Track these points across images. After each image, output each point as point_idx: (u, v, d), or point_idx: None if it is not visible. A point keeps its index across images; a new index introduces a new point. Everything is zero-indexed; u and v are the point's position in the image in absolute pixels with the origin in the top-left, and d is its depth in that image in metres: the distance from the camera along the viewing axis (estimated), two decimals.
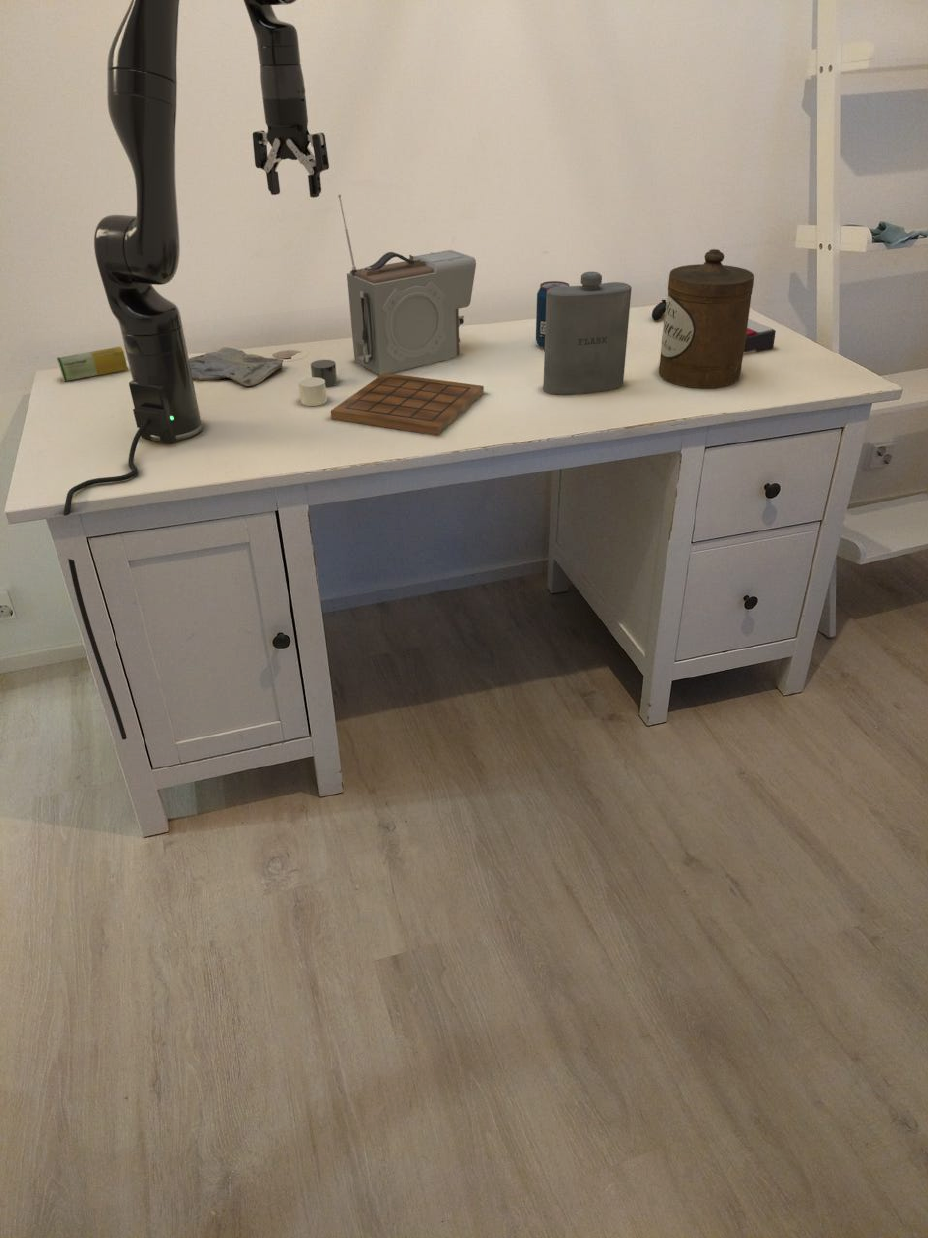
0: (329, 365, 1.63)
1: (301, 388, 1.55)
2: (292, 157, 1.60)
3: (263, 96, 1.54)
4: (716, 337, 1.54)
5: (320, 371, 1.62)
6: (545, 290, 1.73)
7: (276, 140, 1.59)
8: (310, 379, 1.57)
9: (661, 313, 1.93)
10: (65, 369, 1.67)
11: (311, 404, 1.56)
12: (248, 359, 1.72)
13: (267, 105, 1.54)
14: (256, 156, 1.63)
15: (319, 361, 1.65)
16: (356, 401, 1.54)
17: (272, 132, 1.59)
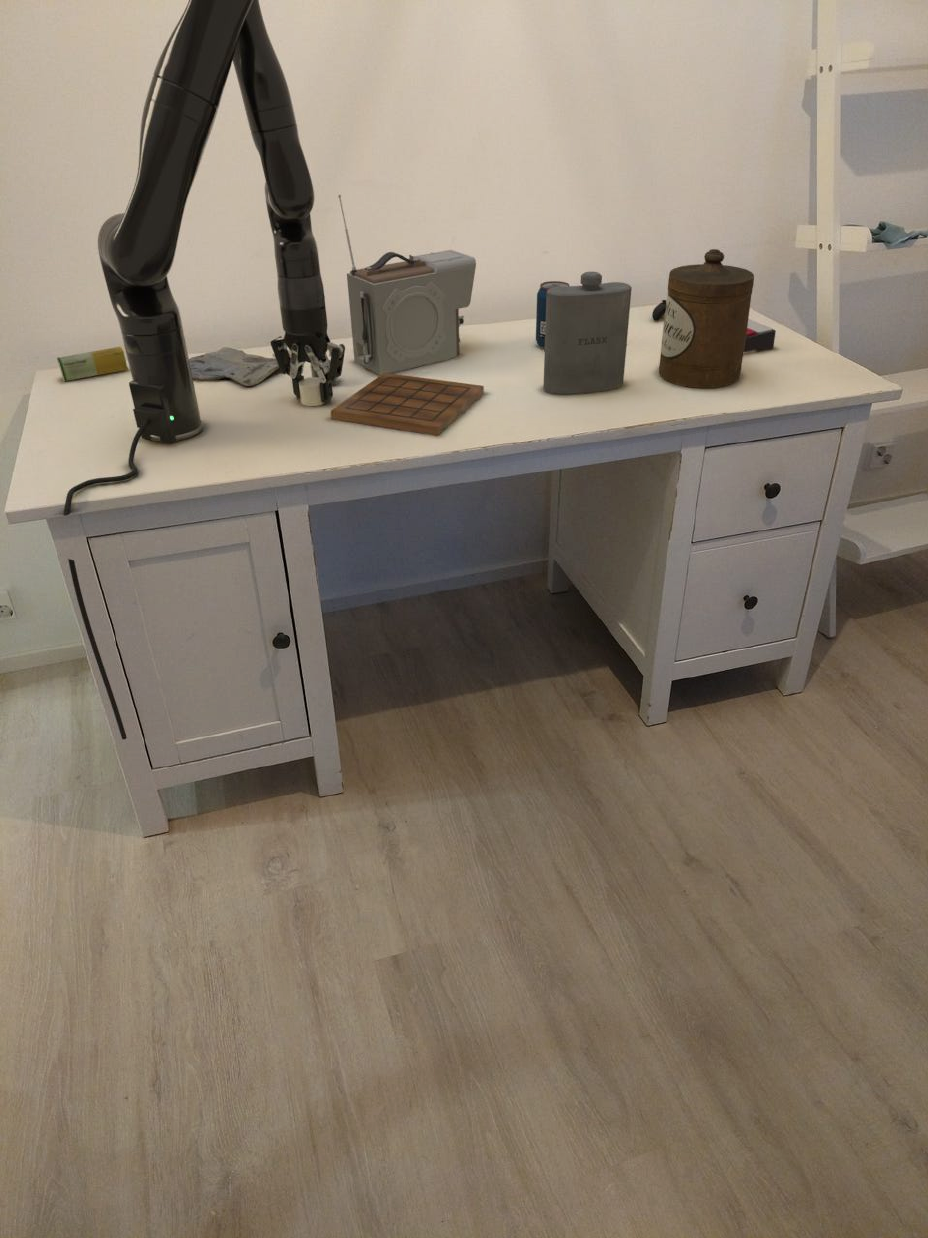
0: (329, 365, 1.63)
1: (301, 388, 1.55)
2: (311, 361, 1.52)
3: (281, 305, 1.47)
4: (716, 337, 1.54)
5: None
6: (545, 290, 1.73)
7: (294, 345, 1.51)
8: (310, 379, 1.57)
9: (661, 313, 1.93)
10: (65, 369, 1.67)
11: (311, 404, 1.56)
12: (248, 359, 1.72)
13: (285, 314, 1.47)
14: (279, 363, 1.55)
15: (319, 361, 1.65)
16: (356, 401, 1.54)
17: (290, 336, 1.51)
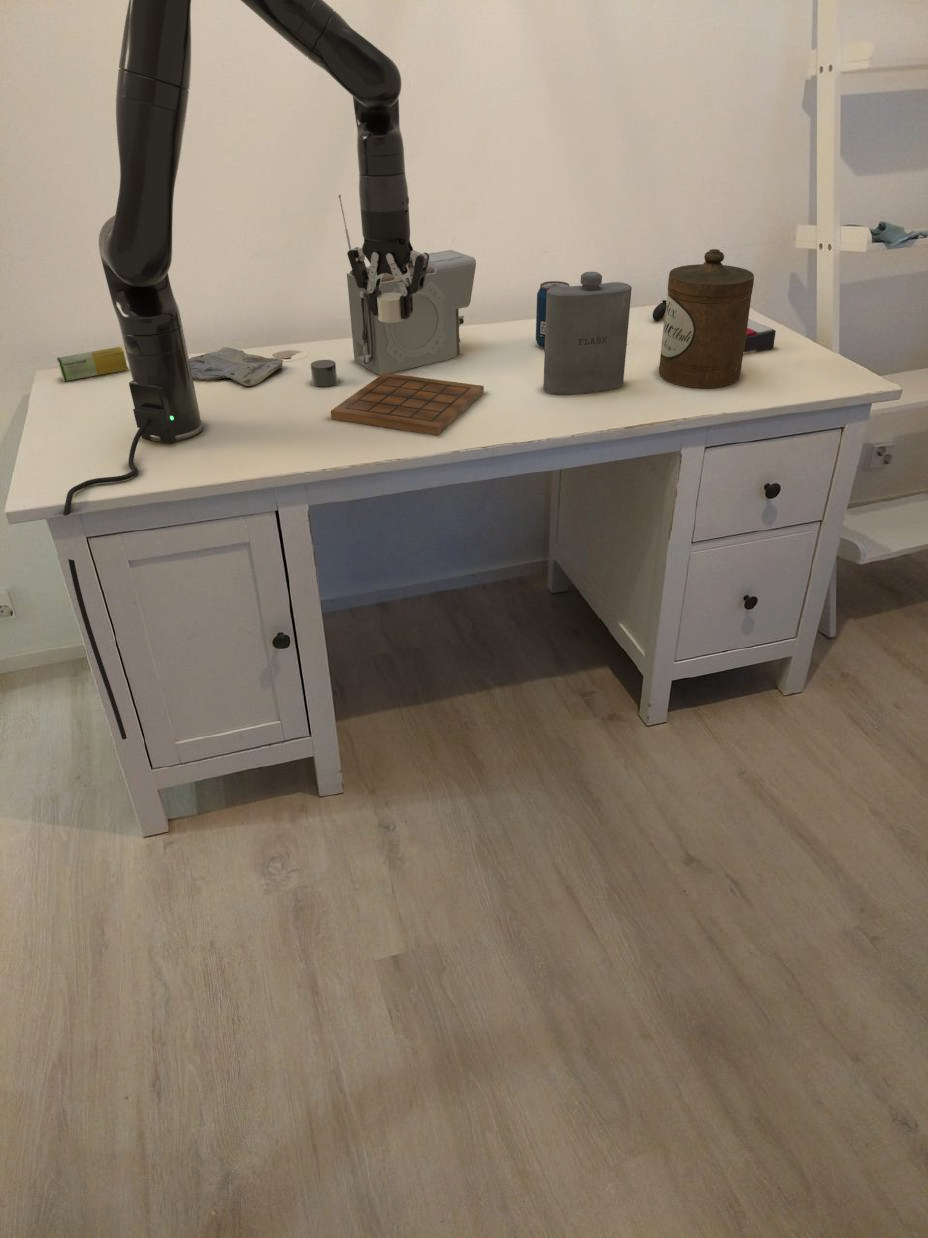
0: (329, 365, 1.63)
1: (380, 303, 1.44)
2: (391, 272, 1.42)
3: (362, 208, 1.36)
4: (716, 337, 1.54)
5: (320, 371, 1.62)
6: (545, 290, 1.73)
7: (374, 254, 1.40)
8: (388, 294, 1.46)
9: (662, 313, 1.92)
10: (65, 369, 1.67)
11: (390, 321, 1.45)
12: (248, 359, 1.72)
13: (367, 218, 1.36)
14: (356, 276, 1.44)
15: (319, 361, 1.65)
16: (356, 401, 1.54)
17: (369, 245, 1.41)
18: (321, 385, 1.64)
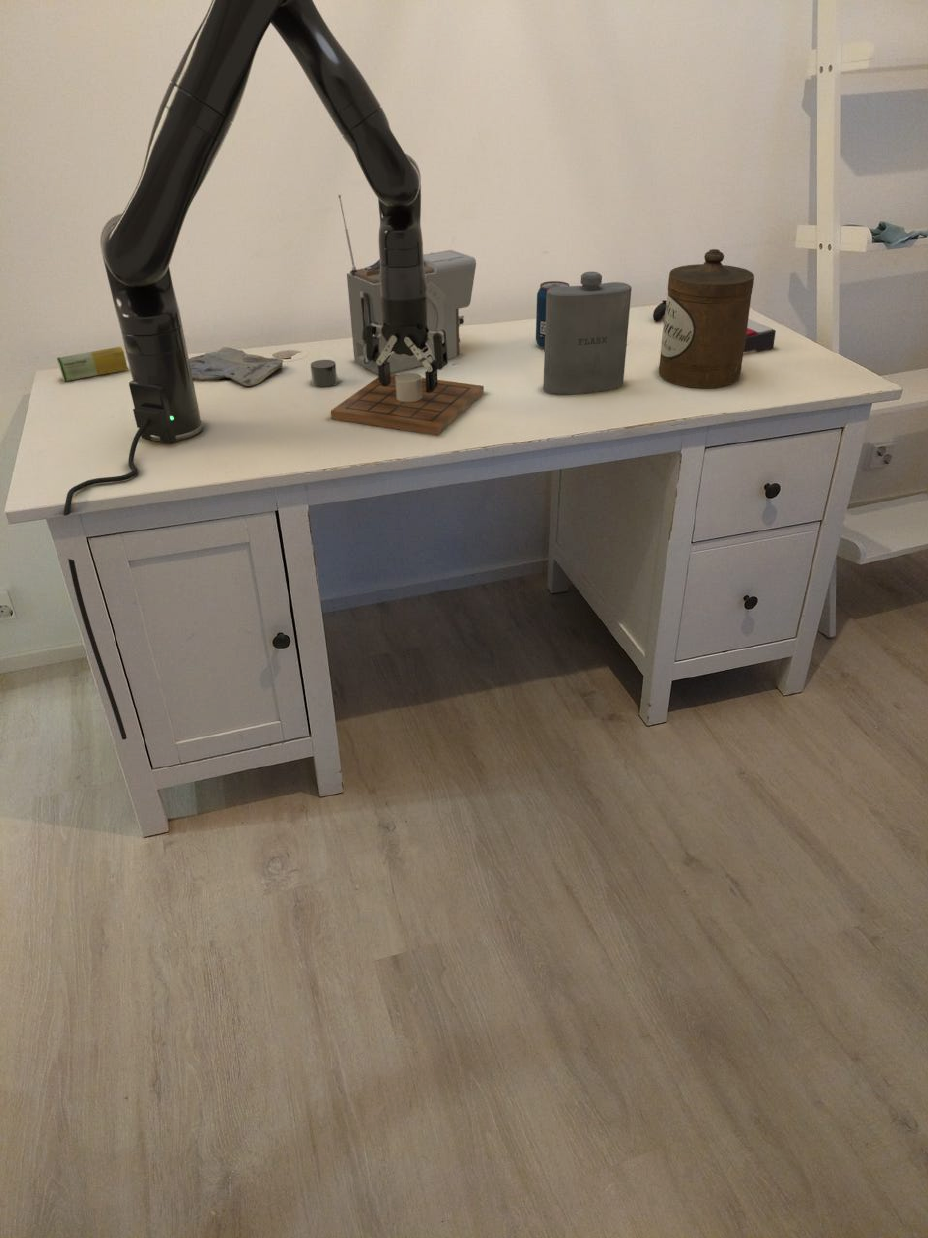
0: (329, 365, 1.63)
1: (398, 383, 1.52)
2: (409, 353, 1.49)
3: (382, 295, 1.43)
4: (716, 337, 1.54)
5: (320, 371, 1.62)
6: (545, 290, 1.73)
7: (393, 337, 1.47)
8: (406, 374, 1.54)
9: (662, 314, 1.92)
10: (65, 369, 1.67)
11: (407, 400, 1.53)
12: (248, 359, 1.72)
13: (386, 305, 1.43)
14: (368, 349, 1.51)
15: (319, 361, 1.65)
16: (356, 401, 1.54)
17: (388, 328, 1.48)
18: (321, 385, 1.64)
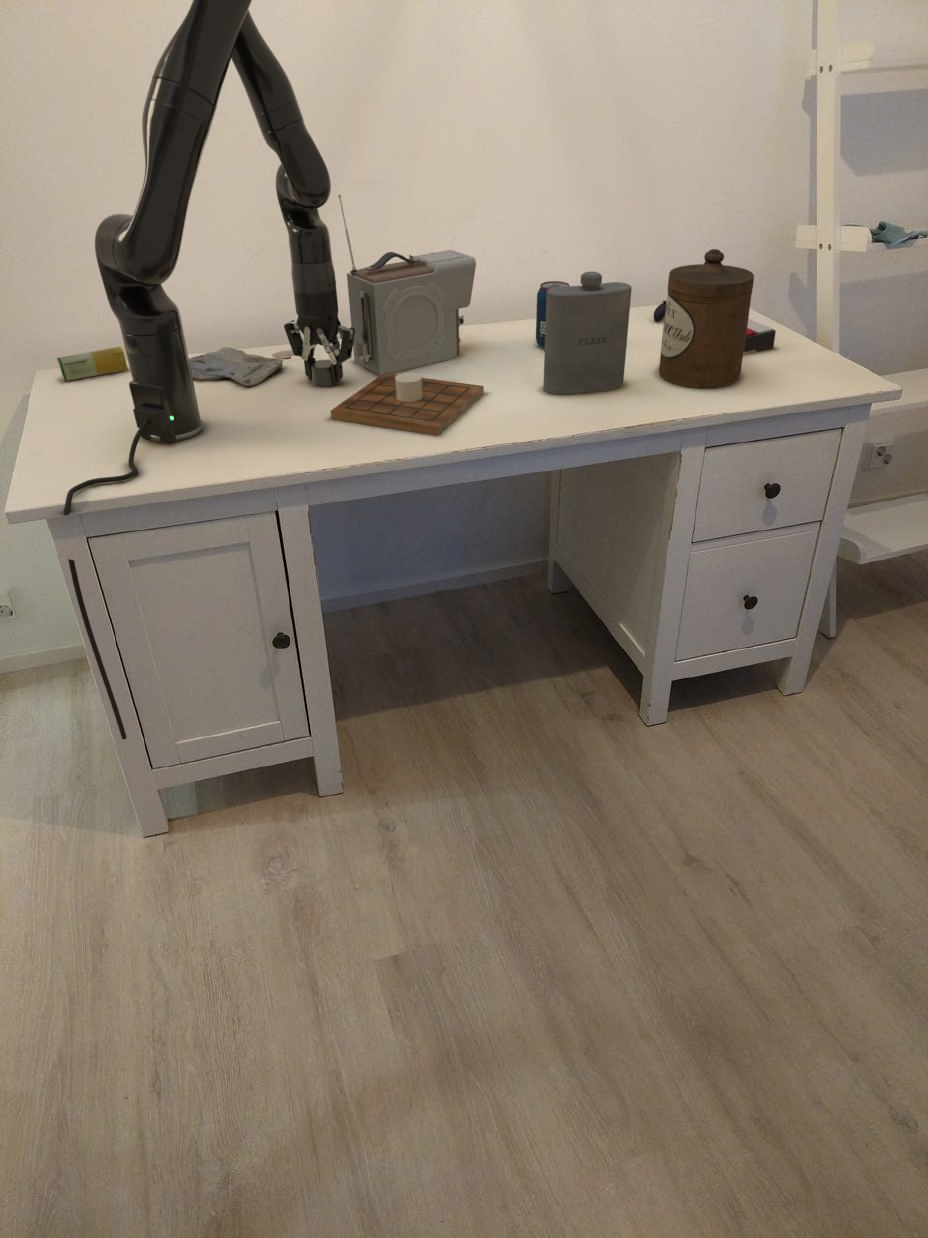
0: (329, 365, 1.63)
1: (398, 383, 1.52)
2: (322, 343, 1.60)
3: (294, 289, 1.54)
4: (716, 337, 1.54)
5: (320, 371, 1.62)
6: (545, 290, 1.73)
7: (306, 328, 1.59)
8: (406, 374, 1.54)
9: (663, 314, 1.92)
10: (65, 369, 1.67)
11: (407, 400, 1.53)
12: (248, 359, 1.72)
13: (298, 298, 1.54)
14: (292, 346, 1.63)
15: (319, 361, 1.65)
16: (356, 401, 1.54)
17: (302, 320, 1.59)
18: (320, 385, 1.64)
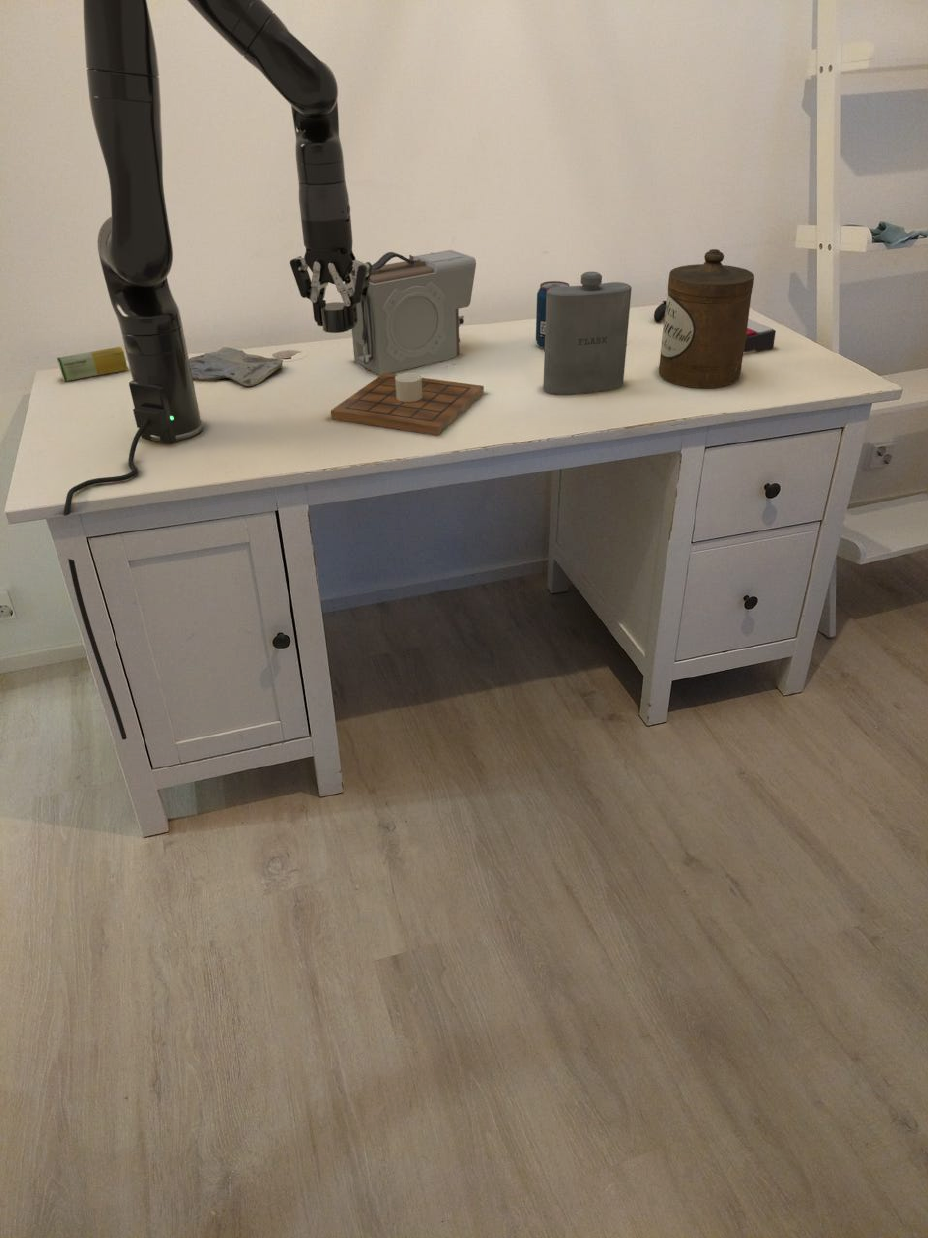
0: (341, 308, 1.42)
1: (398, 383, 1.52)
2: (334, 281, 1.39)
3: (302, 217, 1.34)
4: (716, 337, 1.54)
5: (332, 314, 1.42)
6: (545, 290, 1.73)
7: (316, 263, 1.38)
8: (406, 374, 1.54)
9: (663, 314, 1.92)
10: (65, 369, 1.67)
11: (407, 400, 1.53)
12: (248, 359, 1.72)
13: (307, 227, 1.34)
14: (299, 285, 1.42)
15: (330, 304, 1.44)
16: (356, 401, 1.54)
17: (311, 254, 1.38)
18: (332, 331, 1.43)
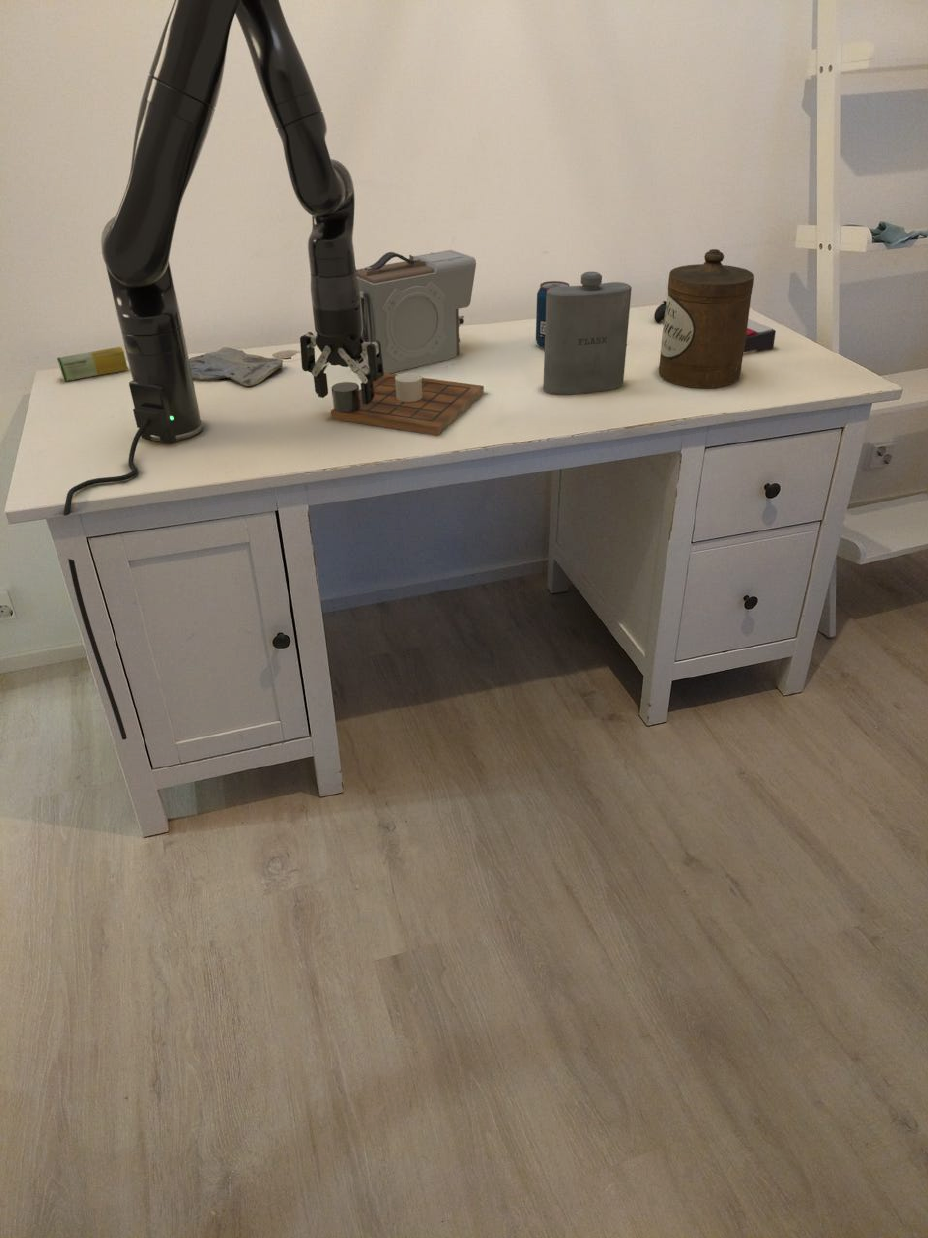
0: (351, 389, 1.48)
1: (398, 383, 1.52)
2: (343, 364, 1.45)
3: (314, 305, 1.40)
4: (716, 337, 1.54)
5: (342, 395, 1.48)
6: (545, 290, 1.73)
7: (326, 347, 1.44)
8: (406, 374, 1.54)
9: (664, 315, 1.92)
10: (65, 369, 1.67)
11: (407, 400, 1.53)
12: (248, 359, 1.72)
13: (318, 315, 1.40)
14: (303, 359, 1.48)
15: (340, 384, 1.50)
16: None
17: (322, 338, 1.44)
18: (342, 410, 1.49)
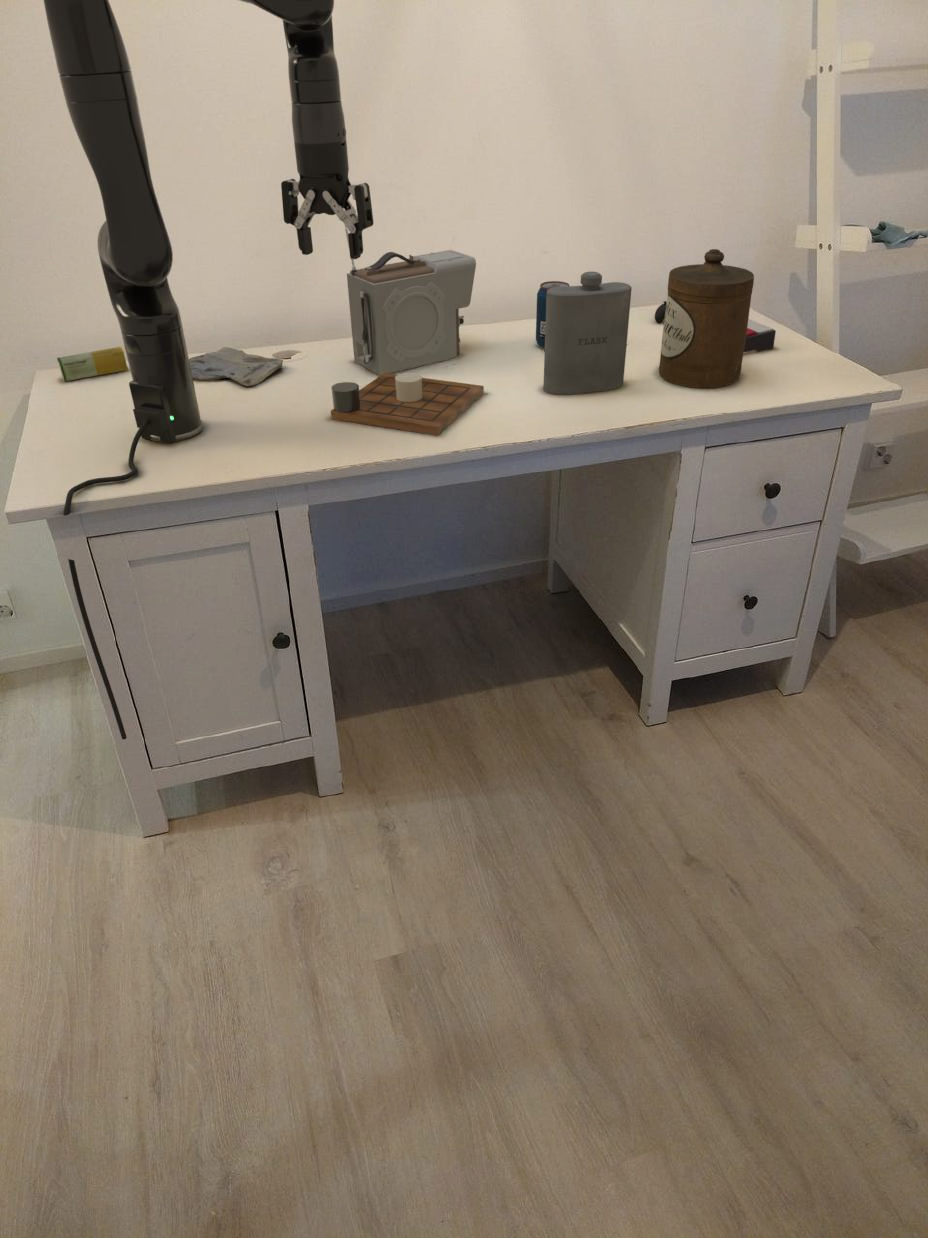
0: (351, 389, 1.48)
1: (398, 383, 1.52)
2: (329, 212, 1.32)
3: (295, 140, 1.26)
4: (716, 337, 1.54)
5: (342, 395, 1.48)
6: (545, 290, 1.73)
7: (310, 192, 1.31)
8: (406, 374, 1.54)
9: (664, 315, 1.92)
10: (65, 369, 1.67)
11: (407, 400, 1.53)
12: (248, 359, 1.72)
13: (300, 151, 1.26)
14: (285, 209, 1.35)
15: (340, 384, 1.50)
16: None
17: (305, 182, 1.31)
18: (342, 410, 1.49)
